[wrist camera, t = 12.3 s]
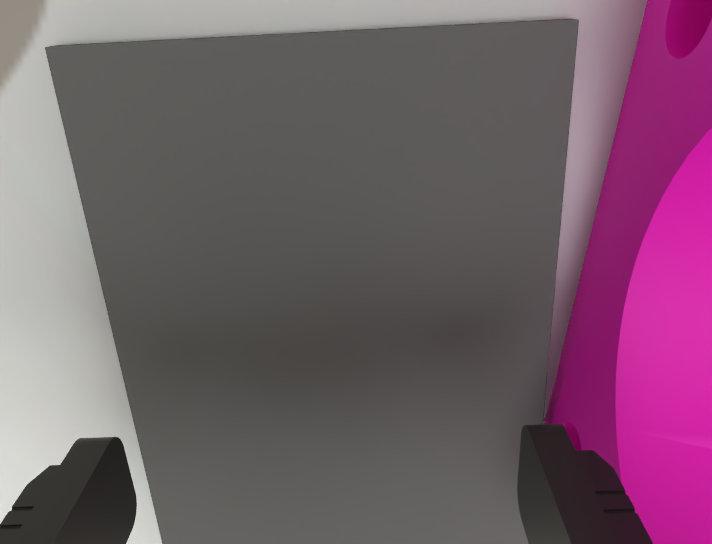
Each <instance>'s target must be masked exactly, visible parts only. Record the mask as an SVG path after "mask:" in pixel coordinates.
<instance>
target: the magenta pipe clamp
mask: <svg viewBox="0 0 712 544" xmlns="http://www.w3.org/2000/svg"><path fill="white" fill-rule="evenodd" d="M545 424H562V425H563V426H564V427H565V429H566V431H567V433H568V435H569V437H570V439H571V441H572V444H573V446H574V448H575V450H594V451H595V452H596V453H597V454H598V455H599V456H600V457H602V458H603V459H604V460H605V461H606V462H607V463H608V464H609V465H611V466H612V467H613V468H614V470H615V472H616V473H617V475H618V477H619V479H620V481H621V483H622V485H623V487H624V489H625V493H626V495H628V496H629V498H630V500H631V502H632V504H633V506H634V508H635V513H637V514H638V515H639V517H640V519H641V521H642V523H643V525H644V527H645V529H646V531H647V533H648V535H649V536H650V538H651V540H652V542H653V544H712V0H648V1H647V6H646V10H645V14H644V18H643V22H642V26H641V30H640V34H639V38H638V42H637V47H636V51H635V55H634V59H633V63H632V67H631V71H630V75H629V79H628V83H627V88H626V92H625V96H624V100H623V104H622V108H621V112H620V116H619V120H618V124H617V128H616V133H615V137H614V141H613V145H612V149H611V153H610V157H609V161H608V165H607V169H606V174H605V178H604V182H603V186H602V190H601V194H600V198H599V202H598V206H597V210H596V215H595V219H594V223H593V227H592V231H591V235H590V239H589V243H588V247H587V251H586V256H585V260H584V264H583V268H582V272H581V276H580V280H579V284H578V288H577V292H576V296H575V301H574V305H573V309H572V313H571V317H570V321H569V325H568V329H567V333H566V337H565V342H564V346H563V350H562V354H561V358H560V362H559V366H558V370H557V374H556V378H555V383H554V387H553V391H552V395H551V399H550V403H549V407H548V411H547V415H546V419H545ZM545 424H544V425H545Z"/></svg>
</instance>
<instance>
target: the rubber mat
mask: <svg viewBox="0 0 712 544" xmlns="http://www.w3.org/2000/svg"><path fill="white" fill-rule="evenodd" d="M578 23H579V20H576V19H557V20H538V21H519V22H500V23H480V24H461V25H442V26H422V27H403V28H384V29H364V30H345V31H326V32H306V33H287V34H268V35H248V36H229V37H210V38H190V39H171V40H152V41H132V42H113V43H94V44H74V45H56V46H50V47H45V50H46V54H47V58H48V62H49V67H50V71H51V75H52V79H53V83H54V88H55V92H56V96H57V100H58V104H59V109H60V113H61V117H62V121H63V126H64V130H65V134H66V138H67V142H68V147H69V151H70V155H71V159H72V164H73V168H74V172H75V176H76V180H77V185H78V189H79V193H80V197H81V202H82V206H83V210H84V214H85V218H86V223H87V227H88V231H89V235H90V239H91V244H92V248H93V252H94V256H95V261H96V265H97V269H98V273H99V277H100V282H101V286H102V290H103V294H104V299H105V303H106V307H107V311H108V315H109V320H110V324H111V328H112V332H113V336H114V341H115V345H116V349H117V353H118V358H119V362H120V366H121V370H122V374H123V379H124V383H125V387H126V391H127V396H128V400H129V404H130V408H131V412H132V417H133V421H134V425H135V429H136V434H137V438H138V442H139V446H140V450H141V455H142V459H143V463H144V467H145V471H146V476H147V480H148V484H149V488H150V493H151V497H152V501H153V505H154V509H155V514H156V518H157V522H158V526H159V531H160V535H161V539H162V543H163V544H529V543H528V540H527V537H526V533H525V530H524V527H523V523H522V520H521V516H520V511H519V505H518V495H517V481H518V468H519V455H520V442H521V431H522V427H523V426H524V425H543V415H544V403H545V392H546V381H547V370H548V359H549V347H550V336H551V325H552V314H553V303H554V292H555V280H556V269H557V258H558V247H559V236H560V225H561V213H562V202H563V191H564V180H565V169H566V158H567V146H568V135H569V124H570V113H571V102H572V90H573V79H574V68H575V57H576V46H577V35H578Z"/></svg>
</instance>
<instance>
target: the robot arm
mask: <svg viewBox="0 0 712 544" xmlns="http://www.w3.org/2000/svg"><path fill="white" fill-rule="evenodd" d="M517 495H518V505H519V511H520V516H521V520H522V523H523V527H524V530H525V533H526V537H527V540H528V543H529V544H653V542H652V540H651V538H650V536H649V535H648V533H647V531H646V529H645V527H644V525H643V523H642V521H641V519H640V517H639V515H638V514H637V513H635V508H634V506H633V504H632V502H631V500H630V498H629V496H628V495H626V493H625V489H624V487H623V485H622V483H621V481H620V479H619V477H618V475H617V473H616V472H615V470H614V468H613V467H612V466H611V465H609V464H608V463H607V462H606V461H605V460H604V459H603V458H602V457H600V456H599V455H598V454H597V453H596V452H595V451H594V450H575V448H574V446H573V444H572V441H571V439H570V437H569V435H568V433H567V431H566V429H565V427H564V426H563V425H562V424H545V425H524V426H523V427H522V431H521V442H520V455H519V468H518V481H517ZM136 506H137V503H136V494H135V490H134V486H133V482H132V478H131V474H130V470H129V466H128V462H127V458H126V454H125V450H124V446H123V443H122V441H121V440H120V439H119V438H118V437H105V438H80V439H78V440H77V441H76V442H75V443H74V444H73V446H72V447H71V449H70V451H69V452H68V454H67V455H66V457H65V458H64V460H63V462H62V463H61V465H52V466H49V467H48V468H47V469H45V470H44V471H43V472H42V473H41V474H39V475H38V476H37V477H36V478H35V479H33V480H32V481H31V482H30V483H29V484H27V486H26V487H25V489H24V490H23V491H22V493H21V494H20V496H19V497H18V499H17V500H16V502H15V503H14V505H13V506H12V511H9V512H8V514H7V515H6V517H5V518H4V520H3V521H2V523H1V524H0V544H126V542H127V540H128V538H129V535H130V533H131V531H132V528H133V525H134V522H135V517H136Z"/></svg>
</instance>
